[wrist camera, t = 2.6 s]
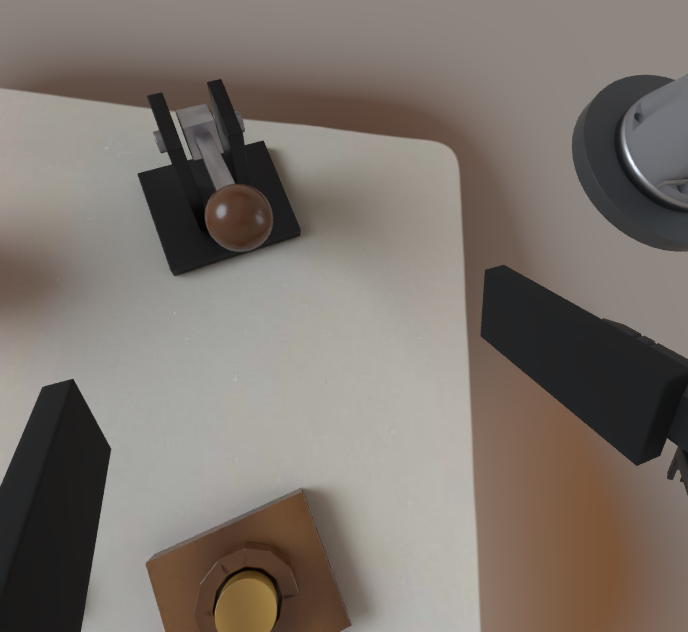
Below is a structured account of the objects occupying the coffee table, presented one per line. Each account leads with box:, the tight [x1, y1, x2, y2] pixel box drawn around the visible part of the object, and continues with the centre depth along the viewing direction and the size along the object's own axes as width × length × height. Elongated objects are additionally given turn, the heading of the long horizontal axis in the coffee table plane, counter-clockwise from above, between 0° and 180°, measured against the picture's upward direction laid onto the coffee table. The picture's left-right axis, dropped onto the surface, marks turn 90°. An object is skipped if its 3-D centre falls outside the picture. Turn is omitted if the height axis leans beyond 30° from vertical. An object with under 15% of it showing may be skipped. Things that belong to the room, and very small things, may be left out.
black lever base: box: [138, 79, 301, 276], centre depth 35 cm, size 10×12×13 cm
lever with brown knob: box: [176, 104, 273, 252], centre depth 27 cm, size 14×4×4 cm, turn 22°
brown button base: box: [146, 488, 351, 632], centre depth 31 cm, size 12×10×4 cm
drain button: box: [215, 571, 277, 632], centre depth 29 cm, size 4×4×2 cm
